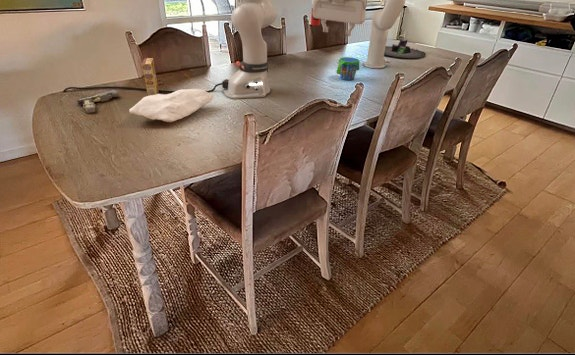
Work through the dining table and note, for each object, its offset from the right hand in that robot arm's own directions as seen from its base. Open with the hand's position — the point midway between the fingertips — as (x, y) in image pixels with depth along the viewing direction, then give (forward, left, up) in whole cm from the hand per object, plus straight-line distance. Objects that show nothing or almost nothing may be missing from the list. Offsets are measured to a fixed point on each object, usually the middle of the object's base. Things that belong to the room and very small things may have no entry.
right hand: (315, 18), depth 206 cm
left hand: (+14, +76, +7) cm, 77 cm away
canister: (0, 0, -3) cm, 3 cm away
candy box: (+88, +44, -26) cm, 102 cm away
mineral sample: (-69, -22, -26) cm, 77 cm away
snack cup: (-11, +30, -26) cm, 41 cm away
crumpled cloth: (+79, +67, -26) cm, 107 cm away
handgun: (+109, +53, -26) cm, 123 cm away
